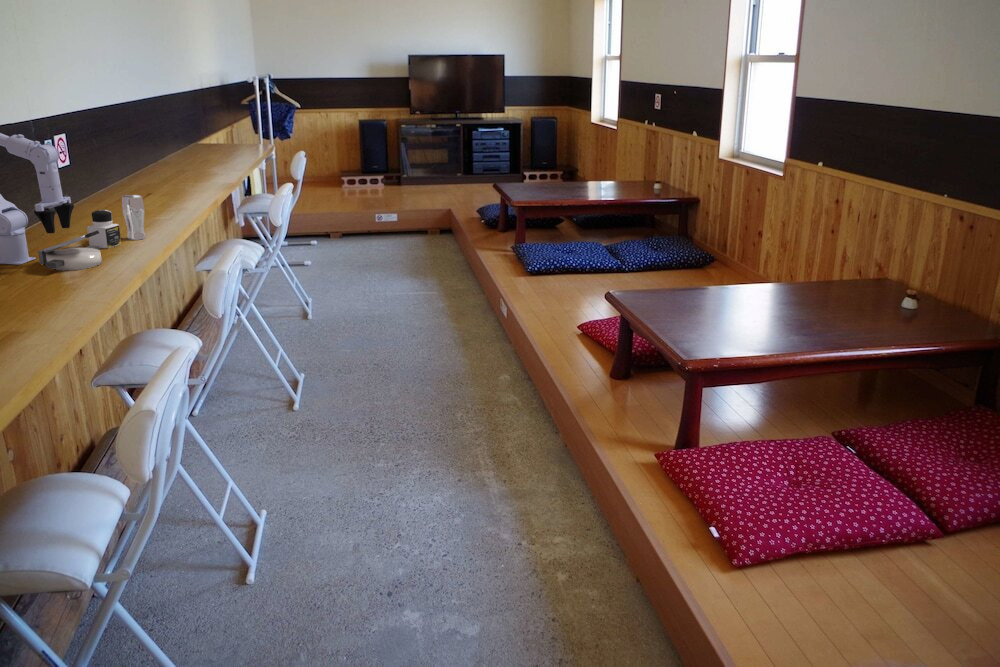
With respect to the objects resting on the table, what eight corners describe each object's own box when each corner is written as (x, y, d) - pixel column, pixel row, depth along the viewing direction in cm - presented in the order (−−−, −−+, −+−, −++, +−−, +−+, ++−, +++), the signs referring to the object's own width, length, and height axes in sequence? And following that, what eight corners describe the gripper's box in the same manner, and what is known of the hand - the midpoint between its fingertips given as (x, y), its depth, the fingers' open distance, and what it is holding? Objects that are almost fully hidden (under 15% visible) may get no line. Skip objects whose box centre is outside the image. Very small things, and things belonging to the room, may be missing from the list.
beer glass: (121, 238, 279) (116, 196, 274) (136, 235, 285) (132, 193, 280) (136, 241, 277) (131, 198, 272) (151, 237, 283) (147, 195, 278)
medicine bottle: (108, 248, 265) (103, 213, 261) (89, 247, 266) (84, 211, 262) (121, 244, 272) (117, 209, 268) (103, 242, 273) (99, 208, 269)
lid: (33, 257, 237) (31, 254, 237) (63, 246, 252) (61, 243, 251) (81, 240, 234) (79, 236, 234) (109, 230, 248) (107, 226, 248)
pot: (22, 271, 235) (19, 257, 233) (68, 253, 257) (66, 241, 255) (76, 275, 234) (74, 261, 232) (118, 257, 255) (116, 244, 254)
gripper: (47, 189, 230) (56, 235, 235) (76, 182, 244) (84, 225, 248) (24, 189, 231) (34, 235, 235) (55, 182, 245) (63, 225, 249)
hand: (58, 230), depth 242 cm, fingers open, 7 cm apart
